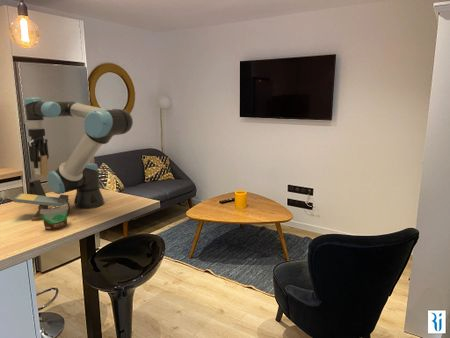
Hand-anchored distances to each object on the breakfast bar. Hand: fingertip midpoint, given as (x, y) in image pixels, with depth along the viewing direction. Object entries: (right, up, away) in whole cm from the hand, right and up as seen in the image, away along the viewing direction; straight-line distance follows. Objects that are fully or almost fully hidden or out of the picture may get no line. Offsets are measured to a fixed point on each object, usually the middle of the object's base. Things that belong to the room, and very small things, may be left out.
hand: (41, 172), depth 176 cm
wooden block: (0, -2, 0) cm, 2 cm away
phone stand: (-10, -17, +13) cm, 23 cm away
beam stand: (+11, -21, -9) cm, 25 cm away
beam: (+7, -13, -12) cm, 19 cm away
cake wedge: (+22, -24, -26) cm, 42 cm away
